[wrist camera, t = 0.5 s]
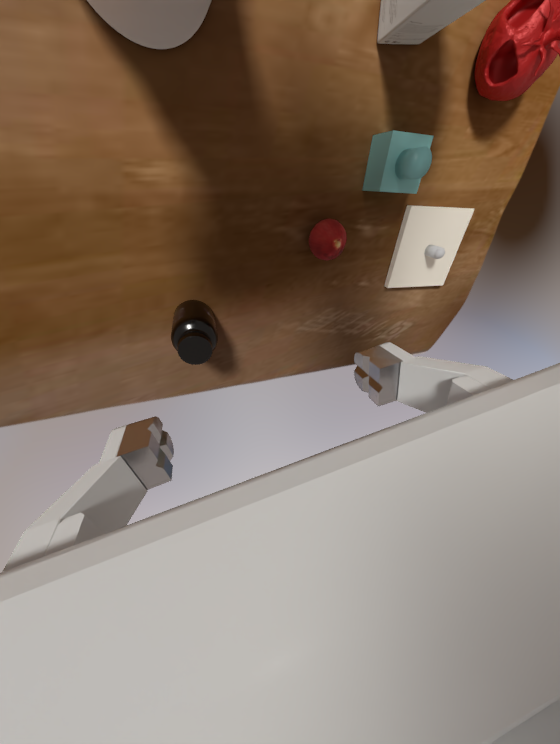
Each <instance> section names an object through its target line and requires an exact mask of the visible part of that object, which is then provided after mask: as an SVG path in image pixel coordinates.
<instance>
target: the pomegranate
mask: <svg viewBox="0 0 560 744" xmlns="http://www.w3.org/2000/svg"><path fill="white" fill-rule="evenodd" d="M557 54H559V56H560V0H511V1H510V2H509V3H508V4H507V5H506V6H505V7H504V8H503V9H502V10H501V11H500V12H499V13H498V14H497V15H496V16H495V18H494V19H493V21H492V22H491V24H490V26H489V27H488V29H487V31H486V34H485V36H484V39H483V41H482V43H481V47H480V49H479V53H478V57H477V60H476V66H475V82H476V87H477V90H478V92H479V94H480V95H481V96H482V97H485V98H488V99H490V100H492V101H494V100H496V101H508V100H511V99H513V98H516V97H518V96H520V95H521V94H523V93H524V92H525V91H526V90H527V89H528V88H529V87H530V86H531V85H532V84H533V83H534V82H535V81H536V80H537V79H538V78H539V77H540V76H541V75H542V74H543V73H544V72H545V70H546V69H547V68H548V67H549V66H550V65H551V64H552V62H553V61H554V59H555V58H556V56H557Z"/></svg>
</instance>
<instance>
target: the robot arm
mask: <svg viewBox="0 0 560 744" xmlns="http://www.w3.org/2000/svg"><path fill="white" fill-rule="evenodd" d="M87 1H88V2H89V4H90V5H91V6H92V7H93V9H94V10H95V11H96V12H97V13H98V14H99V15H100V16H101V17H102V18H103V19H104V20H105V21H106V22H107V23H108V24H109V25H110V26H111V27H112V28H114V29H115V30H116V31H117V32H119V33H120V34H121V35H123V36H124V37H126V38H128V39H129V40H131V41H133V42H135V43H137V44H139V45H142V46H145V47H148V48H153V49H169V48H174V47H177V46H179V45H181V44H183V43H184V42H186V41H187V40H188V39H190V38H191V37H192V36H193V35H194V34H195V32H196V31H197V30H198V29H199V27H200V26H201V24H202V22H203V20H204V18H205V16H206V14H207V11H208V8H209V6H210V3H211V1H212V0H87ZM354 363H355V364H356V365H357V367H356V369H355V371H354V373H355V380H356V383H357V385H358V386H359V388H360V389H361V390H362V391H364V392H368V393H369V398H370V399H371V400H372V401H373V402H374V403H375V404H376V405H378V406H381V405H384V404H387V403H390V402H393V401H396V400H397V401H398V402H401V403H403V404H406V405H408V406H411V407H414V408H416V409H419V410H421V411H424V412H426V413H425V414H423V415H420V416H418V417H415V418H412V419H409V420H407V421H404V422H402V423H399V424H396V425H393V426H391V427H388V428H385V429H383V430H380V431H378V432H375V433H372V434H369V435H367V436H364V437H361V438H359V439H356V440H353V441H351V442H348V443H345V444H342V445H340V446H337V447H334V448H332V449H329V450H327V451H324V452H321V453H319V454H316V455H314V456H311V457H308V458H305V459H303V460H300V461H298V462H295V463H292V464H289V465H287V466H284V467H281V468H279V469H276V470H274V471H271V472H268V473H265V474H263V475H260V476H258V477H255V478H252V479H250V480H247V481H244V482H242V483H239V484H236V485H234V486H231V487H228V488H226V489H223V490H220V491H218V492H215V493H212V494H210V495H207V496H204V497H202V498H199V499H196V500H194V501H191V502H188V503H186V504H183V505H180V506H178V507H175V508H172V509H170V510H167V511H164V512H162V513H159V514H156V515H154V516H151V517H148V518H146V519H143V520H140V521H138V522H135V523H132V524H130V525H127V523H128V522H129V520H130V519H131V517H132V515H133V514H134V512H135V510H136V509H137V507H138V505H139V504H140V502H141V500H142V499H143V498H144V496H145V494H146V492H147V490H148V489H151V488H153V487H156V486H158V485H161V484H164V483H166V482H169V481H171V479H172V467H173V465H172V464H171V462H170V460H171V459H172V457H173V454H174V449H173V443H172V440H171V438H170V436H169V434H168V433H167V432H165V431H163V430H162V425H163V424H162V422H161V421H160V419H159V418H158V417H152V418H149V419H145V420H142V421H139V422H135V423H132V424H129V425H125V426H122V427H119V428H116V429H114V430H112V431H111V433H110V436H109V438H108V441H107V444H106V446H105V449H104V451H103V454H102V456H101V459H100V461H99V463H98V464H95V465H93V466H92V467H91V468H90V469H89V470H88V471H87V472H86V473H85V474H84V475H83V476H82V477H81V478H80V479H79V480H78V481H77V482H76V483H75V484H73V485H72V487H70V488H69V489H68V490H67V491H66V492H65V493H64V494H63V495H62V496H61V497H60V498H59V499H58V500H57V501H56V502H55V503H54V504H52V505H51V506H50V507H49V508H48V510H46V511H45V512H44V513H43V514H42V515H41V516H40V517H39V518H38V519H37V520H36V521H35V522H34V523H33V524H32V525H31V526H29V527H28V528H27V529H26V530H25V531H24V533H23V535H22V537H21V538H20V541H19V542H18V544H17V546H16V548H15V550H14V551H13V553H12V555H11V557H10V559H9V561H8V562H7V564H6V566H5V568H4V570H3V572H2V573H0V744H560V363H558V364H556V365H553V366H550V367H548V368H545V369H542V370H540V371H537V372H535V373H532V374H529V375H526V376H524V377H521V378H518V379H516V380H512V379H510V378H508V377H506V376H504V375H502V374H500V373H498V372H496V371H494V370H492V369H490V368H488V367H485V366H479V365H472V364H465V363H459V362H453V361H446V360H440V359H433V358H427V357H419V356H418V357H414V356H412V355H411V354H409V353H407V352H406V351H404V350H402V349H401V348H399V347H397V346H396V345H394V344H392V343H390V342H386V343H383V344H381V345H378V346H376V347H373V348H370V349H367V350H364V351H361V352H358V353H355V356H354ZM126 525H127V526H126Z"/></svg>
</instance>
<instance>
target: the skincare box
mask: <svg viewBox="0 0 560 744" xmlns="http://www.w3.org/2000/svg"><path fill="white" fill-rule="evenodd" d="M484 1H485V0H381V7H380V17H379V27H378V38H377V43H379V44H420V43H422V42H423V41H425V40H426V39H428V38H429V37H431V36H432V35H434V34H435V33H437V32H438V31H440V30H441V29H443V28H444V27H446V26H447V25H449V24H450V23H452V22H453V21H455V20H457V19H458V18H460V17H461V16H463V15H464V14H466V13H467V12H469V11H470V10H472V9H473V8H475V7H476V6H478V5H479V4H481V3H482V2H484Z"/></svg>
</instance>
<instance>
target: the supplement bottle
mask: <svg viewBox="0 0 560 744" xmlns="http://www.w3.org/2000/svg"><path fill="white" fill-rule="evenodd" d="M171 340H172V344H173V346H174V348H175V349H176V350H177V351H178V354H179V356H180V357H181V359H182V360H183V361H185V362H186V363H189V364H195V365H196V364H202V363H205V362H206V361H208V359H210V357H211V355H212V351H213V350H214V349H215V347H216V345H217V341H218V336H217V330H216V324H215V318H214V315H213V312H212V310H211V309H210V308H209V306H207V305H206V304H205V303H203V302H201V301H197V300H188V301H185V302H183V303H181V304H180V305H179V306H178V307H177V308H176V310H175V313H174V318H173V325H172V332H171Z"/></svg>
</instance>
